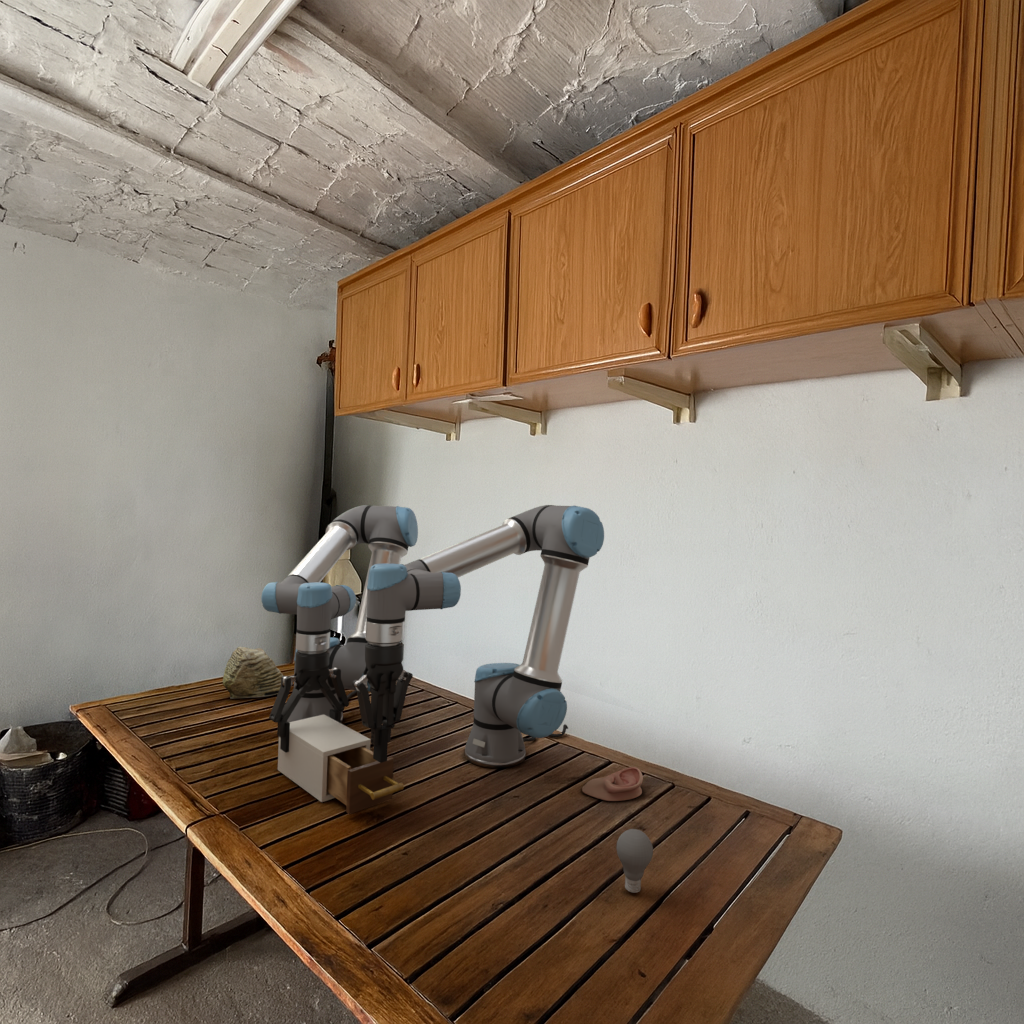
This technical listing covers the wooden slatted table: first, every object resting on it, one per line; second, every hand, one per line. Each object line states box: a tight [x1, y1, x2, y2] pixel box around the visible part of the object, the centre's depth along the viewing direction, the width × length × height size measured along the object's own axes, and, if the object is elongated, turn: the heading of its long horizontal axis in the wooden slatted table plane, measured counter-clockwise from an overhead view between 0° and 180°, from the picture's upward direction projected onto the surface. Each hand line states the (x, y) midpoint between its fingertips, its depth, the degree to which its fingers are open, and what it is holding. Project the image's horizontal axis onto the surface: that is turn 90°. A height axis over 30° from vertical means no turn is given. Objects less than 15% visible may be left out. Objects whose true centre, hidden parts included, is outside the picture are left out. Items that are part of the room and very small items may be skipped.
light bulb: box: [615, 828, 654, 894], centre depth 106 cm, size 6×6×10 cm
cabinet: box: [277, 715, 371, 803], centre depth 142 cm, size 21×11×10 cm, turn 45°
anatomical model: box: [581, 766, 644, 802], centre depth 142 cm, size 13×4×12 cm
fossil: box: [222, 646, 284, 699], centre depth 198 cm, size 9×18×15 cm, turn 132°
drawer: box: [326, 746, 405, 815], centre depth 133 cm, size 25×10×8 cm, turn 45°
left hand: (309, 744), depth 147 cm, fingers closed on cabinet, 11 cm apart
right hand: (380, 759), depth 126 cm, fingers closed
